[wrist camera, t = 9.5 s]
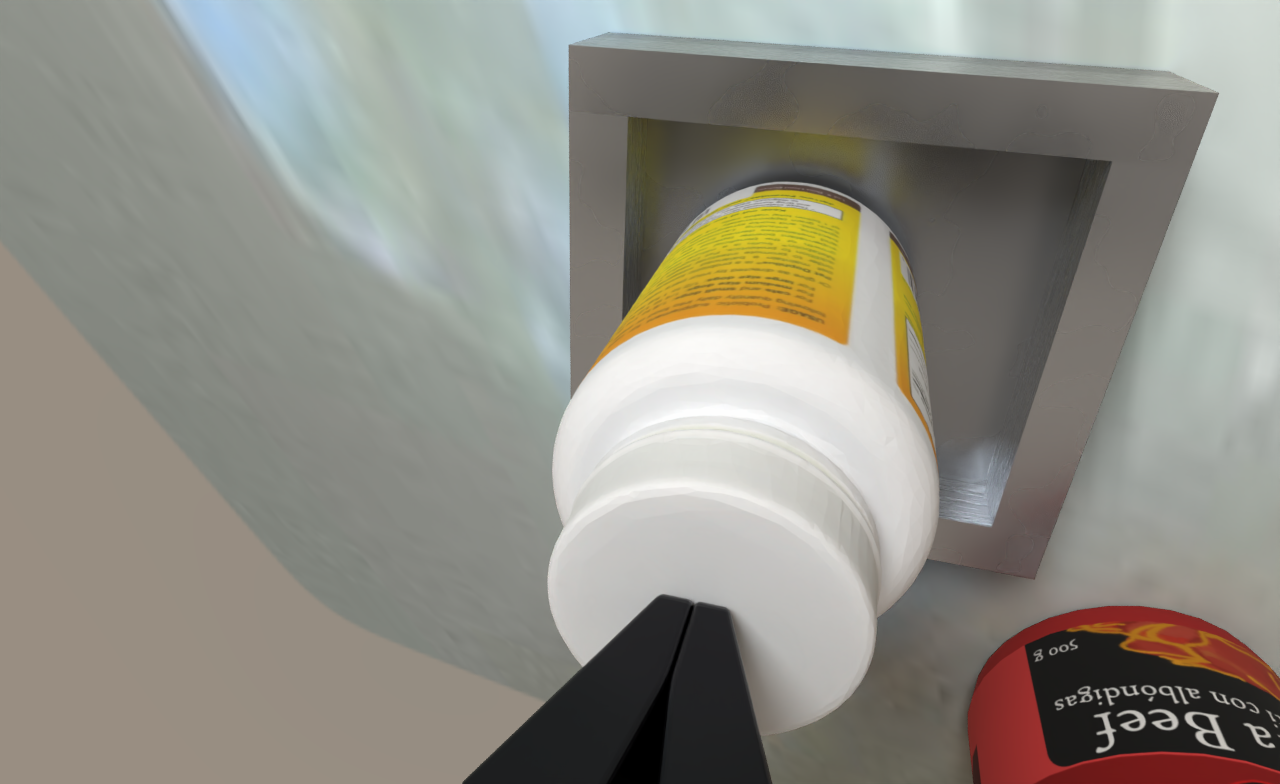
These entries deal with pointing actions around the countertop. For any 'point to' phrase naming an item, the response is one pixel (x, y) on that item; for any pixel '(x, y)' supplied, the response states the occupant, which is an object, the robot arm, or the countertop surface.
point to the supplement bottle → (756, 447)
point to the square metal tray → (909, 225)
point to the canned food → (1125, 704)
